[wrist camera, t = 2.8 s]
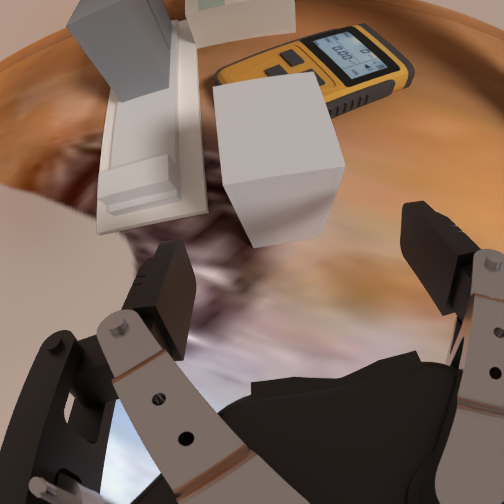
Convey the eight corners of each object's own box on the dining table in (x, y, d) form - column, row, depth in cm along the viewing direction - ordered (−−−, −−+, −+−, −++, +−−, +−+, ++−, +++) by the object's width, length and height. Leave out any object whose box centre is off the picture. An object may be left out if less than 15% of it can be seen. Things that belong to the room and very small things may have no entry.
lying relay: (286, 12, 26) (284, -23, 21) (295, 33, 25) (294, -5, 20) (196, 27, 27) (185, -7, 22) (197, 50, 26) (184, 13, 21)
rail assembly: (196, 21, 27) (168, -59, 16) (208, 212, 22) (136, 114, 10) (123, 43, 28) (82, -25, 17) (100, 235, 22) (-9, 177, 11)
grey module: (306, 170, 21) (313, 71, 12) (320, 237, 20) (345, 166, 11) (242, 180, 22) (210, 87, 12) (252, 248, 21) (219, 185, 11)
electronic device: (215, 92, 25) (206, 67, 22) (356, 40, 25) (359, 16, 21) (260, 159, 23) (254, 135, 19) (411, 93, 23) (421, 69, 19)
